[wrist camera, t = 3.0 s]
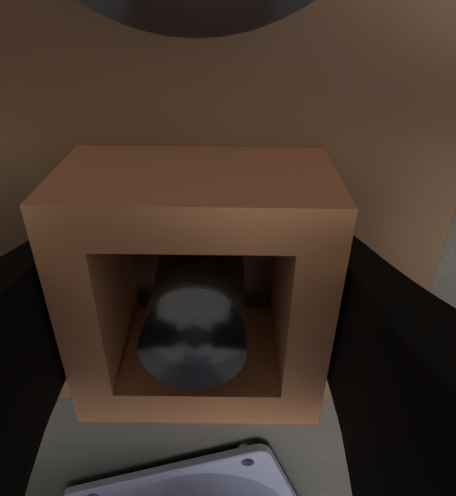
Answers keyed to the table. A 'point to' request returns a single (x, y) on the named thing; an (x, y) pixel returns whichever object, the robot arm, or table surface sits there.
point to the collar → (192, 243)
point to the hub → (196, 15)
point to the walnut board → (247, 110)
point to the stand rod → (195, 321)
